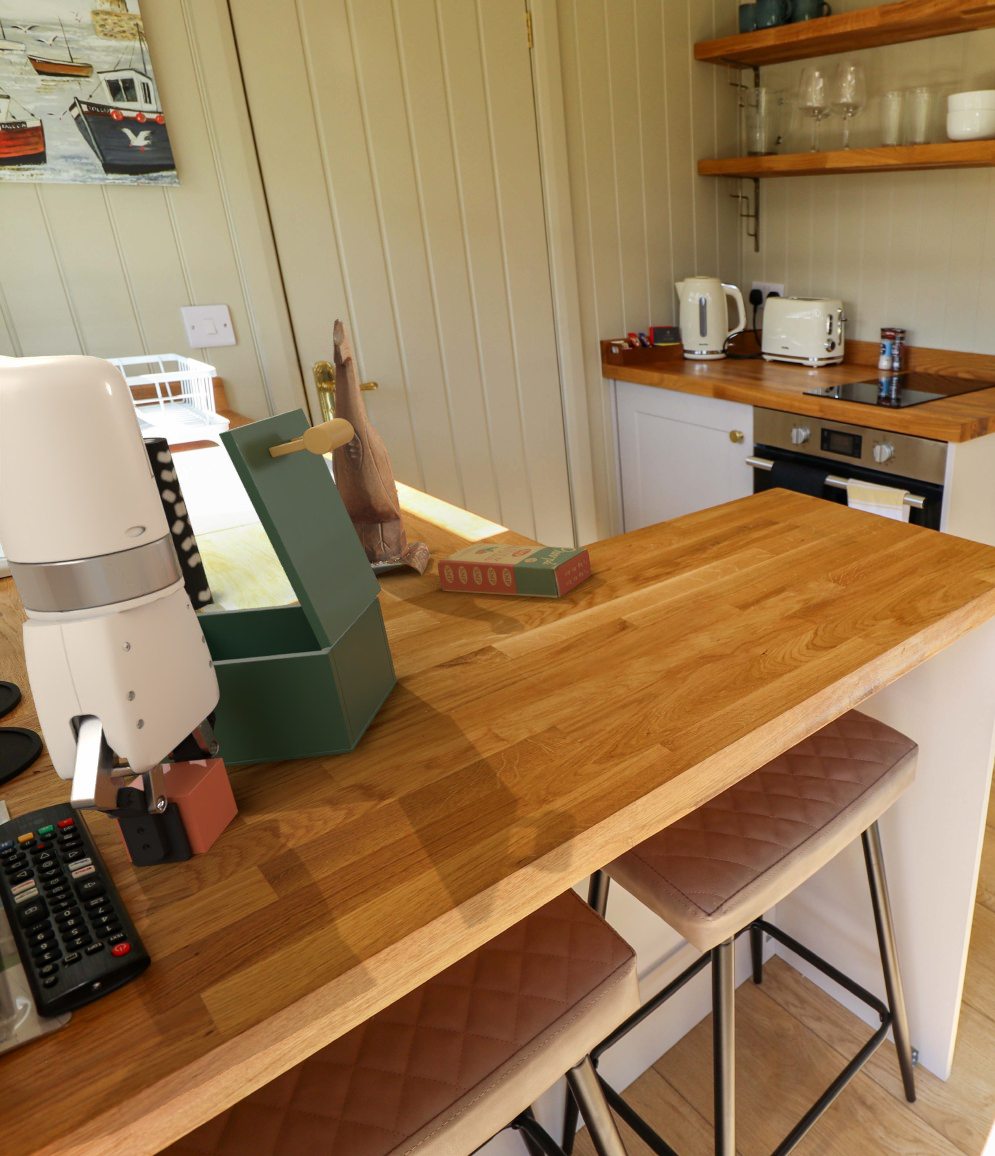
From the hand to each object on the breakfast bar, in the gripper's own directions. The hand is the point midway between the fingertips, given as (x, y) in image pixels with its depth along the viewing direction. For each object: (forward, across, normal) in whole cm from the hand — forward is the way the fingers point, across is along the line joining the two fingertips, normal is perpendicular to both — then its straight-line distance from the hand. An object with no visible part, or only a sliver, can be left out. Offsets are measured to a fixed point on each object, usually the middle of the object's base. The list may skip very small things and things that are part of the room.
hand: (185, 833), depth 54 cm
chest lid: (-17, -15, +6) cm, 23 cm away
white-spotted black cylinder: (+1, -50, -26) cm, 56 cm away
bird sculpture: (+1, -58, -4) cm, 59 cm away
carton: (+1, -47, +15) cm, 50 cm away
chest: (+1, -15, 0) cm, 15 cm away
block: (0, 0, 0) cm, 0 cm away
